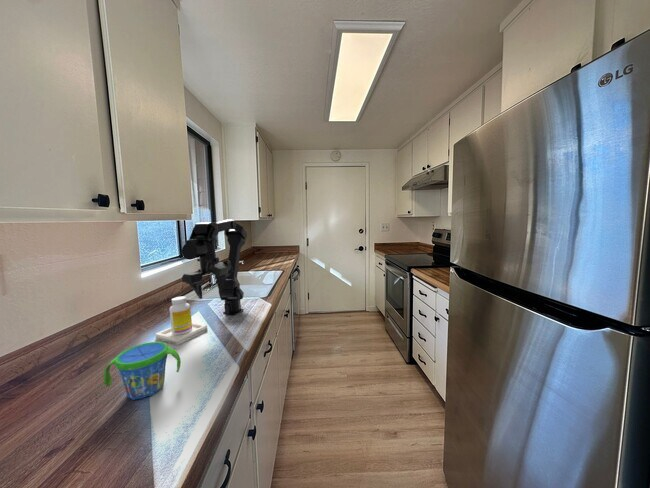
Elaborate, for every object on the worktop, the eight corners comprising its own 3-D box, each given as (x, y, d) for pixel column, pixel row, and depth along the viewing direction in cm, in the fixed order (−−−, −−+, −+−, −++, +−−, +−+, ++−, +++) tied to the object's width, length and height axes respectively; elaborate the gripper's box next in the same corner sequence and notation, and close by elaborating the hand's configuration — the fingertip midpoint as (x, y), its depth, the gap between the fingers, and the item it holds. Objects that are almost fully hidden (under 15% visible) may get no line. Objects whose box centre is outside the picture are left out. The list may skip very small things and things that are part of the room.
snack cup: (187, 372, 69) (184, 337, 68) (173, 398, 59) (169, 357, 58) (122, 382, 66) (117, 346, 65) (96, 412, 56) (89, 369, 54)
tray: (186, 325, 101) (186, 320, 101) (207, 330, 96) (207, 325, 95) (156, 339, 90) (155, 333, 90) (177, 345, 85) (176, 339, 85)
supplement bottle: (195, 330, 94) (192, 297, 92) (177, 337, 88) (173, 302, 87) (187, 326, 98) (184, 294, 96) (168, 333, 92) (165, 299, 91)
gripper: (200, 260, 84) (204, 305, 85) (241, 252, 100) (244, 290, 102) (179, 259, 88) (183, 301, 90) (221, 251, 105) (224, 288, 107)
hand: (211, 295), depth 97 cm, fingers open, 9 cm apart
